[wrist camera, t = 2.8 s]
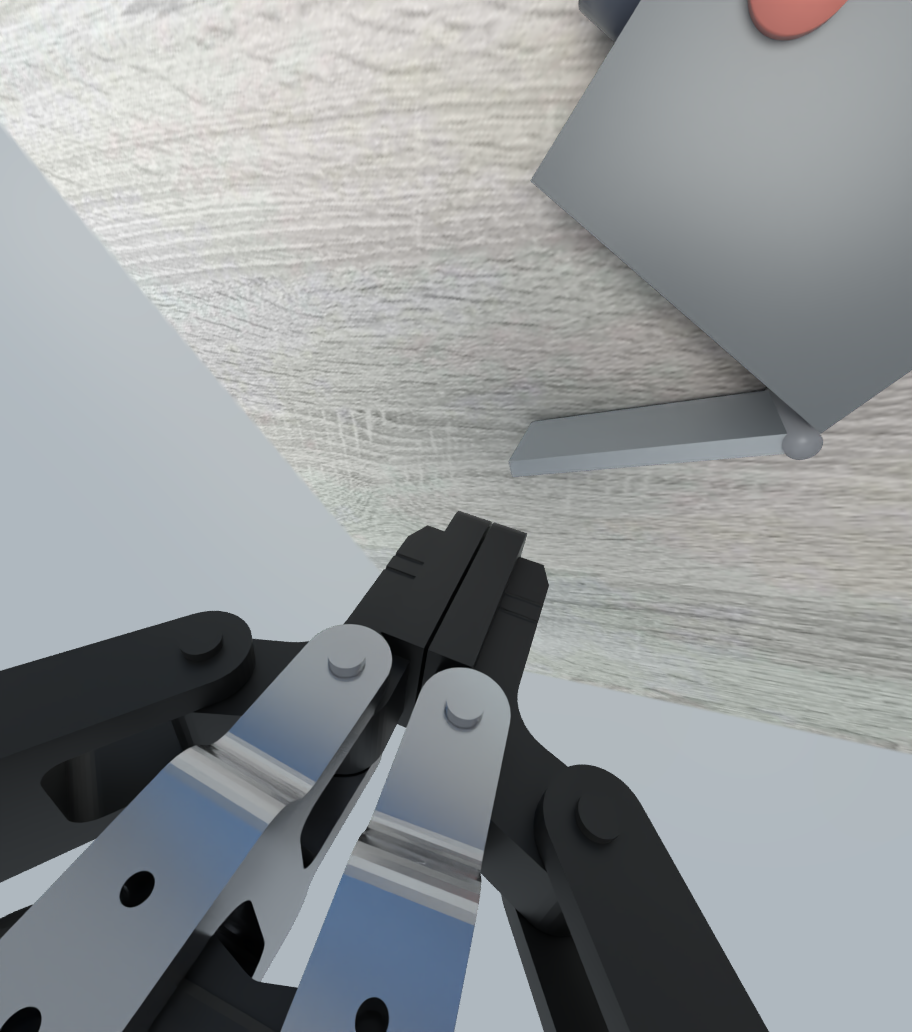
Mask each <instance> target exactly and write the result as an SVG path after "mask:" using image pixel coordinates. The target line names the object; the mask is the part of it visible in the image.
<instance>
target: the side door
mask: <svg viewBox="0 0 912 1032" xmlns="http://www.w3.org/2000/svg"><path fill="white" fill-rule="evenodd" d="M822 445H823V439H822V437H821V435H820V433H819V432H818V431H817V430H816V429H815V428H814V427H813V426H812V425H810V424H809V423H808V422H807V421H806V420H805V419H804V418H802V417H801V416H800V415H799V414H798V413H797V412H795V411H794V410H793V409H792V408H791V407H790V406H789V405H787V404H786V403H785V402H784V401H783V400H782V399H781V398H779V397H778V396H777V395H776V394H775V393H774V392H772V391H771V390H770V389H769V388H767V389H766V390H765V391H759V392H751V393H744V394H736V395H729V396H721V397H714V398H706V399H699V400H691V401H684V402H676V403H669V404H661V405H654V406H646V407H639V408H631V409H624V410H616V411H609V412H601V413H594V414H586V415H579V416H571V417H564V418H556V419H549V420H542V421H534V422H532V423H531V424H530V426H529V428H528V430H527V431H526V433H525V435H524V436H523V438H522V440H521V441H520V443H519V445H518V447H517V448H516V450H515V452H514V453H513V455H512V457H511V458H510V460H509V465H510V469H511V474H512V477H518V476H530V475H542V474H553V473H565V472H577V471H589V470H600V469H612V468H624V467H635V466H647V465H659V464H671V463H682V462H694V461H706V460H718V459H729V458H741V457H753V456H764V455H776V454H786V455H787V456H788V457H790V458H792V459H796V460H803V459H808V458H810V457H812V456H814V455H816V454H817V453H818V452H819V451H820V449H821V448H822Z"/></svg>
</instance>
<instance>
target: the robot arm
mask: <svg viewBox="0 0 912 1032" xmlns="http://www.w3.org/2000/svg"><path fill="white" fill-rule="evenodd" d="M491 525H492V526H491ZM526 536H527V533H524V532H521V531H518V530H515V529H512V528H509V527H506V526H503V525H500V524H497V523H493V524H492V522H491V521H488V520H485V519H482V518H479V517H476V516H473V515H470V514H467V513H464V512H461V511H458V512H457V513H456V514H455V516H454V517H453V519H452V521H451V522H450V524H449V525H448V527H447V528H446V530H445V531H442V530H439V529H436V528H433V527H430V526H426V527H424V528H422V529H420V530H419V531H417V532H415V533H413V534H411V535H410V536H408V537H407V539H406V540H405V541H404V543H403V544H402V545H401V547H400V548H399V550H398V551H397V552H396V555H395V556H393V558H392V559H391V561H390V562H389V563H388V565H387V566H386V569H384V570H383V571H382V573H381V574H380V576H379V577H378V578H377V580H376V581H375V583H374V584H373V585H372V587H371V588H370V589H369V591H368V592H367V593H366V595H365V596H364V598H363V599H362V600H361V602H360V603H359V604H358V606H357V607H356V609H355V610H354V611H353V613H352V614H351V615H350V617H349V618H348V620H347V621H346V622H345V623H344V624H343V625H337V626H333V627H331V628H328V629H326V630H324V631H322V632H320V633H318V634H317V635H316V636H315V637H314V638H312V639H311V640H310V641H308V642H283V641H271V640H259V639H252V635H251V631H250V628H249V627H248V625H247V624H246V623H245V621H244V620H242V619H241V618H239V617H238V616H236V615H234V614H231V613H228V612H222V611H207V612H200V613H196V614H192V615H189V616H185V617H182V618H178V619H175V620H172V621H168V622H165V623H161V624H158V625H155V626H151V627H148V628H144V629H141V630H137V631H134V632H131V633H127V634H124V635H121V636H117V637H114V638H110V639H107V640H104V641H100V642H97V643H93V644H90V645H87V646H83V647H80V648H76V649H73V650H70V651H66V652H63V653H59V654H56V655H53V656H49V657H46V658H42V659H39V660H36V661H32V662H29V663H26V664H22V665H19V666H15V667H12V668H9V669H5V670H2V671H0V882H3V881H4V880H7V879H9V878H11V877H13V876H16V875H18V874H20V873H22V872H24V871H27V870H29V869H31V868H33V867H35V866H37V865H40V864H42V863H44V862H46V861H48V860H50V859H52V858H55V857H57V856H59V855H61V854H64V853H66V852H68V851H70V850H72V849H74V848H77V847H79V846H81V845H83V844H85V843H87V842H90V841H92V840H94V839H95V840H94V841H93V843H92V844H91V845H90V846H89V847H88V848H87V849H86V850H85V851H84V852H83V853H82V854H81V855H80V856H79V857H78V858H77V859H76V860H75V861H74V863H72V865H71V866H70V867H69V868H68V869H67V870H66V871H65V872H64V873H63V874H62V875H61V876H60V877H59V878H58V879H57V880H56V881H55V882H54V883H53V884H52V885H51V887H50V888H49V889H48V890H47V891H46V892H45V893H44V894H43V895H42V896H41V897H40V898H39V899H38V900H37V901H36V902H35V903H34V904H33V905H30V906H28V907H25V908H23V909H20V910H18V911H15V912H13V913H11V914H9V915H7V916H5V917H3V918H0V1032H454V1029H455V1025H456V1019H457V1014H458V1009H459V1004H460V999H461V993H462V988H463V983H464V978H465V973H466V968H467V963H468V958H469V953H470V947H471V942H472V937H473V932H474V927H475V922H476V916H477V910H478V904H479V898H480V890H481V876H480V875H481V874H482V875H483V876H484V877H485V878H486V879H487V880H488V881H489V882H490V883H491V884H492V885H493V886H494V887H495V888H496V889H497V890H498V891H499V892H500V893H501V895H502V901H503V904H504V908H505V911H506V914H507V917H508V921H509V924H510V927H511V930H512V933H513V936H514V939H515V942H516V946H517V949H518V952H519V955H520V958H521V961H522V964H523V967H524V970H525V974H526V977H527V980H528V983H529V986H530V989H531V992H532V995H533V999H534V1002H535V1005H536V1008H537V1011H538V1014H539V1017H540V1020H541V1024H542V1026H543V1030H544V1032H769V1031H768V1029H767V1027H766V1026H765V1024H764V1022H763V1020H762V1019H761V1017H760V1015H759V1014H758V1011H757V1010H756V1008H755V1006H754V1004H753V1003H752V1001H751V999H750V997H749V996H748V994H747V992H746V991H745V988H744V987H743V985H742V983H741V981H740V980H739V978H738V976H737V974H736V972H735V971H734V969H733V967H732V965H731V963H730V962H729V960H728V958H727V956H726V955H725V953H724V951H723V949H722V947H721V946H720V944H719V942H718V940H717V939H716V937H715V935H714V933H713V931H712V930H711V928H710V926H709V924H708V923H707V921H706V919H705V917H704V916H703V914H702V912H701V910H700V908H699V907H698V905H697V903H696V901H695V899H694V898H693V896H692V894H691V892H690V890H689V889H688V887H687V885H686V883H685V882H684V880H683V878H682V876H681V875H680V873H679V871H678V869H677V867H676V866H675V864H674V862H673V860H672V859H671V857H670V855H669V853H668V851H667V850H666V848H665V846H664V844H663V843H662V841H661V839H660V837H659V836H658V834H657V832H656V830H655V828H654V826H653V825H652V823H651V821H650V819H649V818H648V816H647V814H646V813H645V811H644V809H643V807H642V805H641V803H640V802H639V800H638V799H637V797H636V796H635V794H634V793H633V792H632V791H631V790H630V789H629V787H628V786H627V785H626V784H625V783H624V782H622V781H621V780H620V779H619V778H617V777H616V776H615V775H613V774H611V773H610V772H608V771H606V770H604V769H601V768H599V767H596V766H591V765H573V766H569V767H567V766H566V765H565V764H564V763H563V762H561V761H560V760H559V759H558V758H556V757H555V756H554V755H553V754H551V753H550V752H549V751H547V749H545V748H544V747H543V746H542V745H541V744H540V743H539V742H538V741H536V740H535V739H534V737H533V736H532V735H531V734H530V732H529V731H528V730H527V728H526V726H525V725H524V722H523V720H522V718H521V715H520V712H519V709H518V702H517V693H518V689H519V684H520V681H521V678H522V674H523V671H524V668H525V664H526V661H527V658H528V654H529V651H530V647H531V644H532V641H533V637H534V634H535V630H536V627H537V623H538V620H539V617H540V614H541V610H542V607H543V603H544V600H545V597H546V593H547V590H548V587H549V584H548V580H547V576H546V572H545V568H544V565H542V564H539V563H536V562H533V561H530V560H527V559H524V558H521V553H522V550H523V547H524V543H525V540H526ZM397 724H399V725H401V726H403V727H406V730H405V733H404V735H403V738H402V741H401V743H400V746H399V748H398V751H397V754H396V756H395V759H394V761H393V764H392V767H391V769H390V772H389V775H388V777H387V779H386V782H385V785H384V787H383V790H382V792H381V795H380V797H379V800H378V803H377V805H376V808H375V810H374V813H373V815H372V818H371V820H370V822H369V825H368V827H367V829H366V830H365V831H364V832H363V833H362V834H361V836H360V837H359V839H358V841H357V843H356V845H355V847H354V849H353V851H352V854H351V856H350V858H349V860H348V863H347V865H346V868H345V871H344V873H343V875H342V878H341V881H340V883H339V885H338V888H337V890H336V893H335V895H334V898H333V900H332V903H331V906H330V908H329V910H328V913H327V916H326V918H325V921H324V923H323V926H322V928H321V931H320V933H319V936H318V938H317V941H316V943H315V946H314V948H313V951H312V953H311V956H310V958H309V961H308V964H307V966H306V969H305V971H304V974H303V976H302V979H301V981H300V984H299V986H298V988H296V987H289V986H282V985H275V984H269V983H262V982H261V980H262V978H263V976H264V975H265V973H266V971H267V970H268V968H269V966H270V964H271V963H272V961H273V959H274V957H275V956H276V954H277V952H278V951H279V949H280V947H281V945H282V944H283V942H284V940H285V938H286V936H287V935H288V933H289V931H290V930H291V927H292V926H293V924H294V922H295V920H296V918H297V916H298V914H299V912H300V910H301V907H302V905H303V903H304V900H305V897H306V895H307V891H308V889H309V886H310V883H311V881H312V879H313V877H314V875H315V873H316V871H317V869H318V867H319V865H320V864H321V862H322V860H323V859H324V857H325V855H326V853H327V852H328V850H329V848H330V847H331V845H332V843H333V841H334V840H335V838H336V836H337V835H338V833H339V831H340V830H341V828H342V826H343V825H344V823H345V821H346V819H347V818H348V816H349V814H350V813H351V811H352V809H353V807H354V806H355V804H356V802H357V800H358V799H359V797H360V796H361V794H362V792H363V790H364V789H365V787H366V785H367V784H368V782H369V780H370V779H371V777H372V775H373V774H374V772H375V770H376V768H377V767H378V764H379V763H380V760H381V756H382V752H383V751H384V749H385V747H386V745H387V743H388V741H389V739H390V737H391V735H392V733H393V731H394V729H395V727H396V725H397Z"/></svg>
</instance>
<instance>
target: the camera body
mask: <svg viewBox="0 0 912 1032" xmlns="http://www.w3.org/2000/svg"><path fill="white" fill-rule="evenodd" d="M579 10H580V11H581V12H582V13H583V14H584V15H585V16H586V17H587V18H588V19H589V20H590V21H592V22H593V23H594V24H595V25H596V26H597V27H598V28H599V29H600V30H601V31H603V32H604V33H605V34H606V35H607V36H608V37H609V38H610V39H611V40H612V41H613V42H615V43H614V45H613V47H612V48H611V50H610V52H609V53H608V55H607V56H606V58H605V60H604V61H603V63H602V65H601V66H600V68H599V70H598V71H597V73H596V74H595V76H594V78H593V79H592V81H591V83H590V84H589V86H588V88H587V89H586V91H585V92H584V94H583V96H582V97H581V99H580V101H579V102H578V104H577V106H576V107H575V109H574V110H573V112H572V114H571V115H570V117H569V119H568V120H567V122H566V124H565V125H564V127H563V128H562V130H561V132H560V133H559V135H558V137H557V138H556V140H555V142H554V143H553V145H552V146H551V148H550V150H549V151H548V153H547V155H546V156H545V158H544V160H543V161H542V163H541V164H540V166H539V168H538V169H537V171H536V173H535V174H534V176H533V177H532V179H531V182H532V183H533V184H534V185H536V186H537V187H538V188H539V189H540V190H541V191H543V192H544V193H545V194H546V195H547V196H548V197H549V198H551V199H552V200H553V201H554V202H555V203H556V204H557V205H559V206H560V207H561V208H562V209H563V210H564V211H566V212H567V213H568V214H569V215H570V216H571V217H572V218H574V219H575V220H576V221H577V222H578V223H579V224H580V225H582V226H583V227H584V228H585V229H586V230H587V231H589V232H590V233H591V234H592V235H593V236H594V237H595V238H597V239H598V240H599V241H600V242H601V243H602V244H603V245H605V246H606V247H607V248H608V249H609V250H610V251H612V252H613V253H614V254H615V255H616V256H617V257H618V258H620V259H621V260H622V261H623V262H624V263H625V264H626V265H628V266H629V267H630V268H631V269H632V270H633V271H635V272H636V273H637V274H638V275H639V276H640V277H641V278H643V279H644V280H645V281H646V282H647V283H648V284H649V285H651V286H652V287H653V288H654V289H655V290H656V291H658V292H659V293H660V294H661V295H662V296H663V297H664V298H666V299H667V300H668V301H669V302H670V303H671V304H672V305H674V306H675V307H676V308H677V309H678V310H679V311H681V312H682V313H683V314H684V315H685V316H686V317H687V318H689V319H690V320H691V321H692V322H693V323H694V324H695V325H697V326H698V327H699V328H700V329H701V330H702V331H703V332H705V333H706V334H707V335H708V336H709V337H710V338H712V339H713V340H714V341H715V342H716V343H717V344H718V345H720V346H721V347H722V348H723V349H724V350H725V351H726V352H728V353H729V354H730V355H731V356H732V357H733V358H735V359H736V360H737V361H738V362H739V363H740V364H741V365H743V366H744V367H745V368H746V369H747V370H748V371H749V372H751V373H752V374H753V375H754V376H755V377H756V378H758V379H759V380H760V381H761V382H762V383H763V384H764V385H766V386H767V387H768V388H769V389H770V390H771V391H772V392H774V393H775V394H776V395H777V396H778V397H779V398H781V399H782V400H783V401H784V402H785V403H786V404H787V405H789V406H790V407H791V408H792V409H793V410H794V411H795V412H797V413H798V414H799V415H800V416H801V417H802V418H804V419H805V420H806V421H807V422H808V423H809V424H810V425H812V426H813V427H814V428H815V429H816V430H817V431H818V432H820V433H822V432H824V431H825V430H827V429H828V428H829V427H831V426H832V425H834V424H835V423H837V422H838V421H839V420H841V419H842V418H844V417H845V416H847V415H848V414H849V413H851V412H852V411H854V410H855V409H857V408H858V407H860V406H861V405H862V404H864V403H865V402H867V401H868V400H870V399H871V398H872V397H874V396H875V395H877V394H878V393H880V392H881V391H882V390H884V389H885V388H887V387H888V386H890V385H891V384H893V383H894V382H895V381H897V380H898V379H900V378H901V377H903V376H904V375H905V374H907V373H908V372H910V371H911V370H912V0H579Z"/></svg>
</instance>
